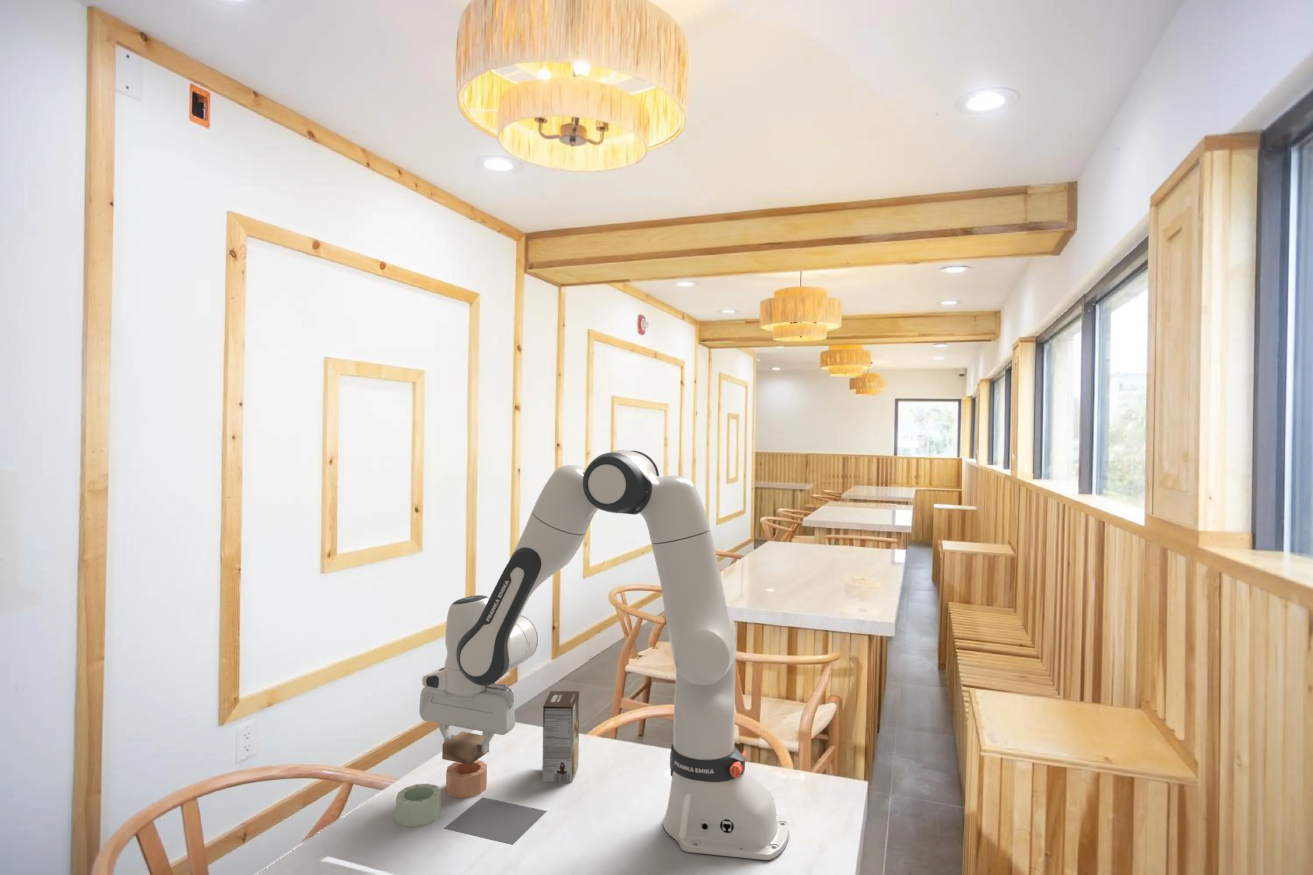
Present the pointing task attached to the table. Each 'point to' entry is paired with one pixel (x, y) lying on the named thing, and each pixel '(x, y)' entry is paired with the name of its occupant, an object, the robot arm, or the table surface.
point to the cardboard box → (463, 748)
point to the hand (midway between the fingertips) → (466, 748)
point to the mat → (496, 820)
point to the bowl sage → (418, 805)
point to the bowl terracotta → (466, 779)
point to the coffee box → (560, 736)
